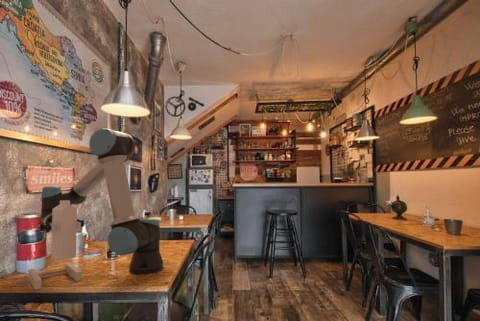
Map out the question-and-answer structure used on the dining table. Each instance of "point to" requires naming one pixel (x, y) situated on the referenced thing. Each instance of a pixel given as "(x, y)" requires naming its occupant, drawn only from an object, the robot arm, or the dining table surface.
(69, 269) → the brown piece
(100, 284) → the dining table surface
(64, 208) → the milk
